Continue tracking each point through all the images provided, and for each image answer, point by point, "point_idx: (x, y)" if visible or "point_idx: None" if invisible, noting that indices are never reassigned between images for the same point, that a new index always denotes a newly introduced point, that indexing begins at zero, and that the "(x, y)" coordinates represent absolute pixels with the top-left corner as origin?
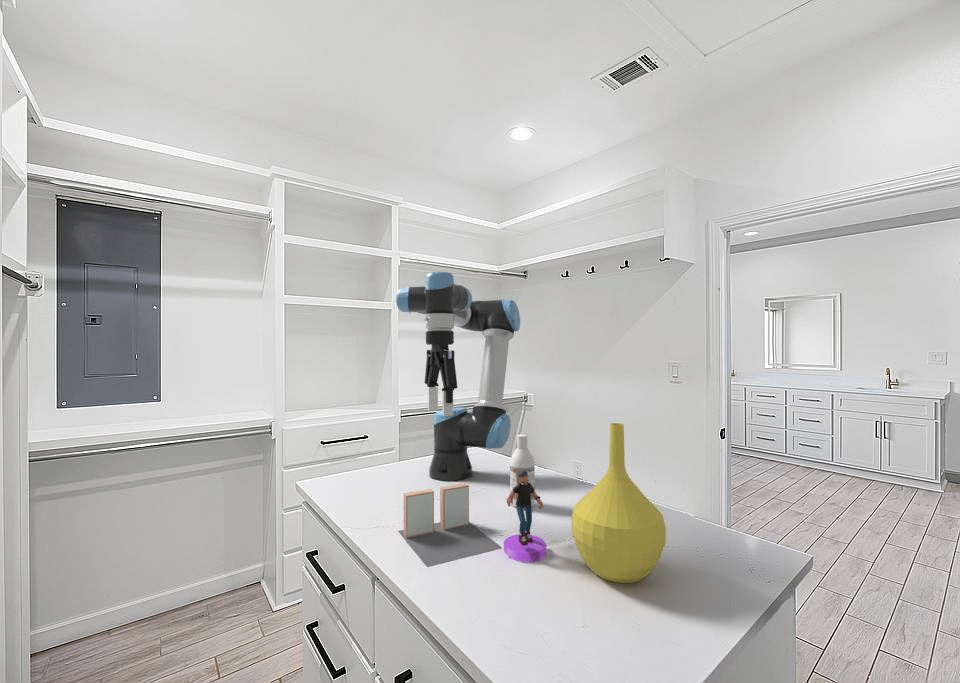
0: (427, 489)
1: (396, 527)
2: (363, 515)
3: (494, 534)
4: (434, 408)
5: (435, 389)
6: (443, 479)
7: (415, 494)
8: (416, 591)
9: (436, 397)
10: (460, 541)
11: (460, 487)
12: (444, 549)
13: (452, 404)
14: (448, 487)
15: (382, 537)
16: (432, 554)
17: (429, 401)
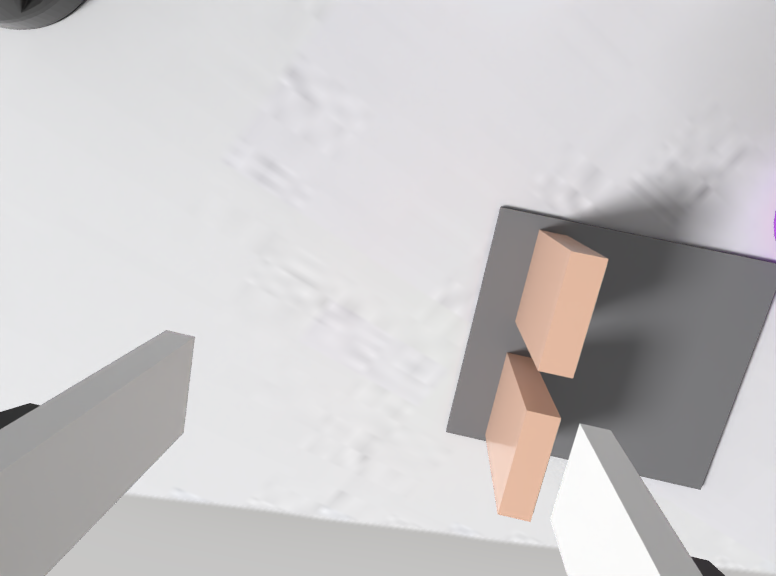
0: (523, 423)
1: (408, 413)
2: (255, 441)
3: (679, 208)
4: (180, 384)
5: (15, 502)
6: (75, 5)
7: (539, 487)
8: (765, 557)
9: (108, 417)
10: (648, 336)
11: (596, 299)
12: (653, 401)
13: (651, 510)
14: (565, 345)
15: (445, 476)
16: (654, 442)
17: (129, 485)
